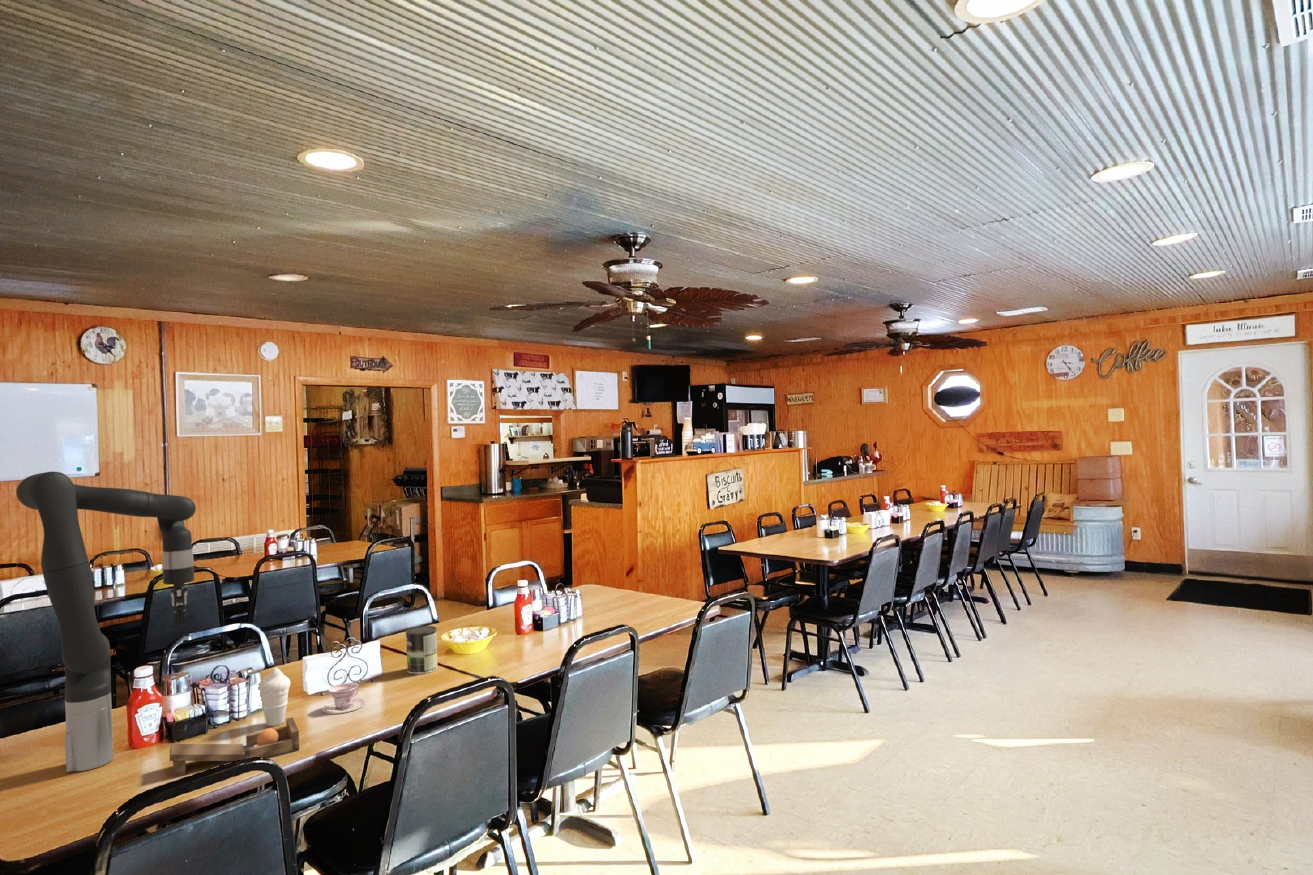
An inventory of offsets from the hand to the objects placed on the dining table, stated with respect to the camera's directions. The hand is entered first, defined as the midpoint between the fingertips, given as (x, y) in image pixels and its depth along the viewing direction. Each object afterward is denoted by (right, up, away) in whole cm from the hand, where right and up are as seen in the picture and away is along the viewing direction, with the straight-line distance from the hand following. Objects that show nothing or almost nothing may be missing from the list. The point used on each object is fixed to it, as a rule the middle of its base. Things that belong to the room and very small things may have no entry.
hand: (180, 622), depth 208 cm
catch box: (+36, -29, -18) cm, 49 cm away
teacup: (+42, -29, +11) cm, 52 cm away
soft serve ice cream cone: (+27, -29, 0) cm, 40 cm away
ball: (+35, -26, -18) cm, 47 cm away
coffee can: (+55, -28, +46) cm, 77 cm away
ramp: (+24, -29, -25) cm, 45 cm away
